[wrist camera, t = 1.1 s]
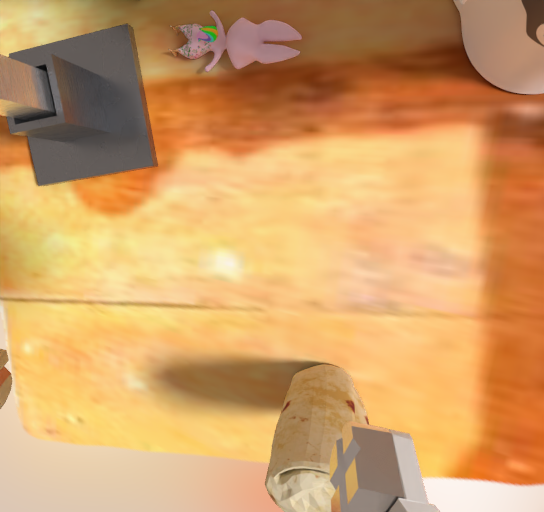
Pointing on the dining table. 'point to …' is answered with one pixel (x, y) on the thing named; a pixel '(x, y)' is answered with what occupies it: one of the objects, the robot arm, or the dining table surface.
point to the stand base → (89, 108)
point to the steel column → (24, 91)
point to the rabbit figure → (238, 41)
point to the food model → (311, 437)
